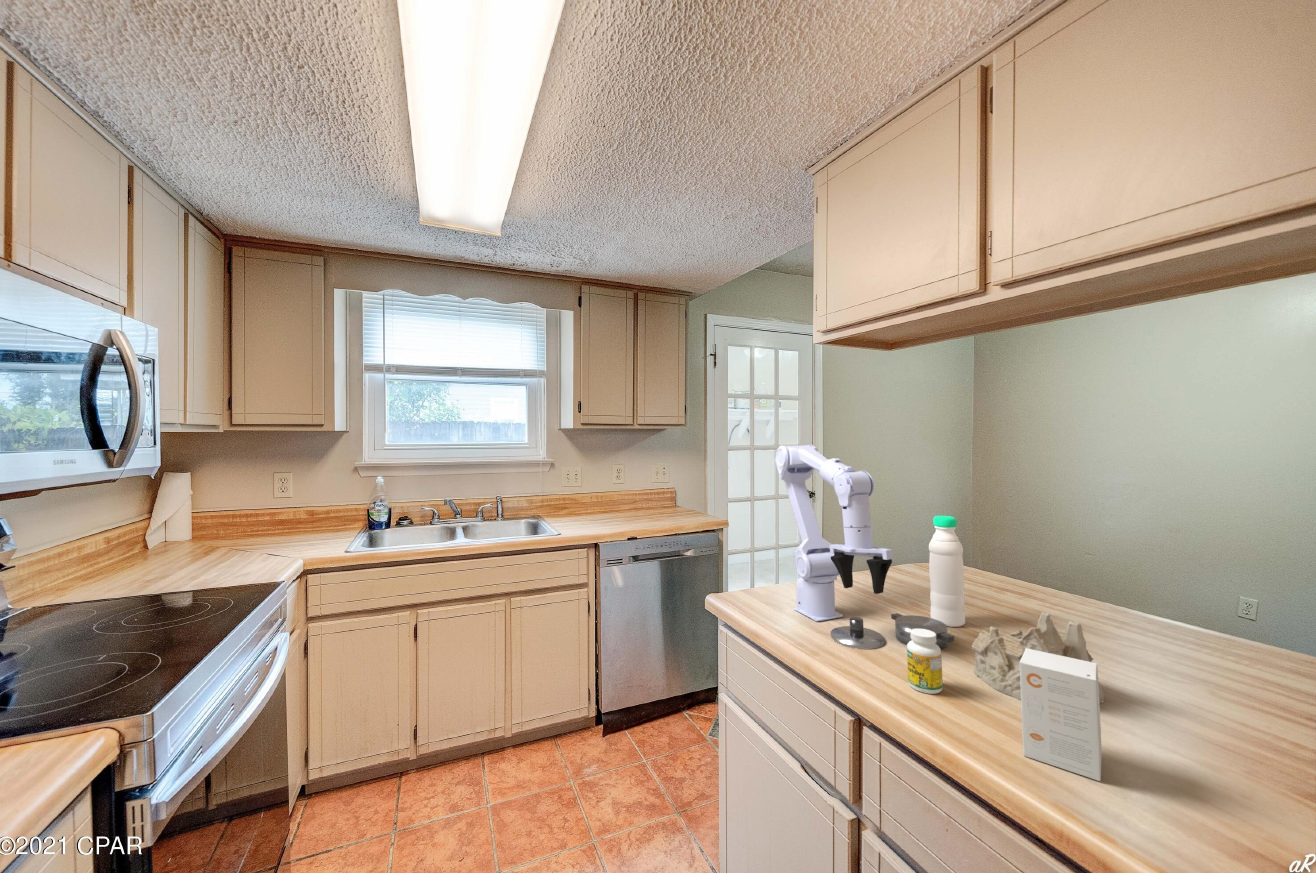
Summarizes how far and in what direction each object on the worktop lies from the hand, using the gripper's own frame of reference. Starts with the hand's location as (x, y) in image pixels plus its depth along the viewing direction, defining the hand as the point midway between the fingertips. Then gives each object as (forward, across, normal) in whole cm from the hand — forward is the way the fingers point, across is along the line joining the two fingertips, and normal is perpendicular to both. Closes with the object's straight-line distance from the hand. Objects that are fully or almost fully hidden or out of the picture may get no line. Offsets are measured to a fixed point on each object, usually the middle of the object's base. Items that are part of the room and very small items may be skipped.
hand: (863, 590), depth 105 cm
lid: (+11, -3, +1) cm, 12 cm away
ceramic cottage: (+14, +26, +10) cm, 32 cm away
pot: (+11, +5, +12) cm, 17 cm away
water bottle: (+11, +2, +26) cm, 29 cm away
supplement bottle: (+13, +16, -7) cm, 22 cm away
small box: (+15, +37, -10) cm, 41 cm away
